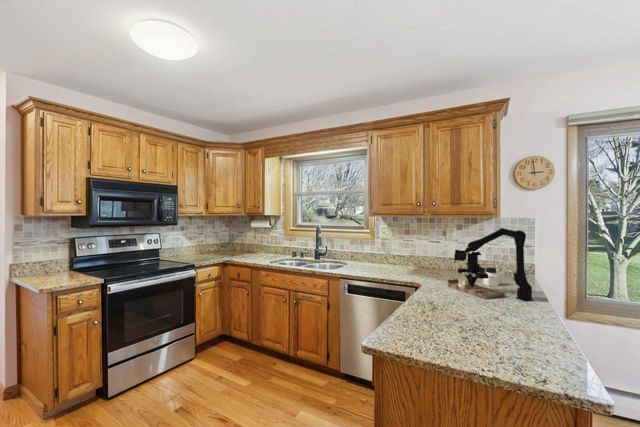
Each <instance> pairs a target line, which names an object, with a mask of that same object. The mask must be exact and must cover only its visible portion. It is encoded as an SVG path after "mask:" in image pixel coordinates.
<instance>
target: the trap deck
mask: <svg viewBox="0 0 640 427" xmlns="http://www.w3.org/2000/svg"><path fill="white" fill-rule="evenodd" d="M459 279H460V278H456V279H455V278H454V279H447V287H449V288H451V289H454V290H456V291H459V292H463V293H465V294H468V295H471V296H474V297H476V298H480V299H482V300H493V299H500V298H506V297H505V296H506V295H505V294H506V293H505V292H502V291H499V290H495V289H492V288H489V287H485V286H482V285H479V284H474V286H473V287H471V288H462V287H458V286H459Z"/></svg>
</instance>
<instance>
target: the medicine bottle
mask: <svg viewBox="0 0 640 427" xmlns="http://www.w3.org/2000/svg"><path fill="white" fill-rule="evenodd" d="M485 273H487V274H488V278H484V279H482V284H483V285H485V286H487V287H500V275H498V274H497V269H496V268H495V267H492V266H487V267H486V268H485Z"/></svg>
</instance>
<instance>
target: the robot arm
mask: <svg viewBox="0 0 640 427" xmlns="http://www.w3.org/2000/svg"><path fill="white" fill-rule="evenodd" d="M502 236H507V237H510V238H513V242H514V245H515V260H516V261H515V262H516V263H515V264H516V269H515V271H513V272H512V275H513V277H512V280H513V282H515V284H516V286H518V287H517V290H516V296H515V299H518V300H520V301H524V302H528V301H529V302H530V301H534V300H535V299H533V290H532V288H533V287H532V286H531V283H529V282H528V278H527V275H526V271H525V250H524V247H525V243H526V238H527V235H526V232H524V231H522V230H519V229H518V230H512V229H508V228H504V227H501V228H499V229H498V230H495V231H493V232H491V233H490V234H488V235H486V236H484V237H481V238H478V239H475V240H471V241H470V242H469V243H468V244H467V247H466V248H465V249H464V250H461V249H455V251H454V256H453V257H454V258H453V259H454V261H456V262H457V261H459V262H465V261H466V260H467V262H466V263H465V265H466V266H467V267H460V268H458V269H457V273H458V274H463V273H465V274H464V276H465V278H466V279H468V281H469V283H470V286H471V287H473V286H474V284H475V283H476V282H477V280H478V279H480V280H483V279H484V278H488V274H487V273H486V268H485V267H484V266H483V267H482V266H481V265H480V263H479V256H482V253H481V252H480V251H479V249H480V248H482V247H483V246H484V245H486V244H487V243H490V242H492V241H493V240H496V239H498V238H500V237H502Z"/></svg>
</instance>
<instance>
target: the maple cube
mask: <svg viewBox="0 0 640 427" xmlns="http://www.w3.org/2000/svg"><path fill="white" fill-rule="evenodd" d="M458 279H459V286H458V287H462V288H471V286H470V283H469V281H468V279H467V278H466V277H465V278H458Z"/></svg>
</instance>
